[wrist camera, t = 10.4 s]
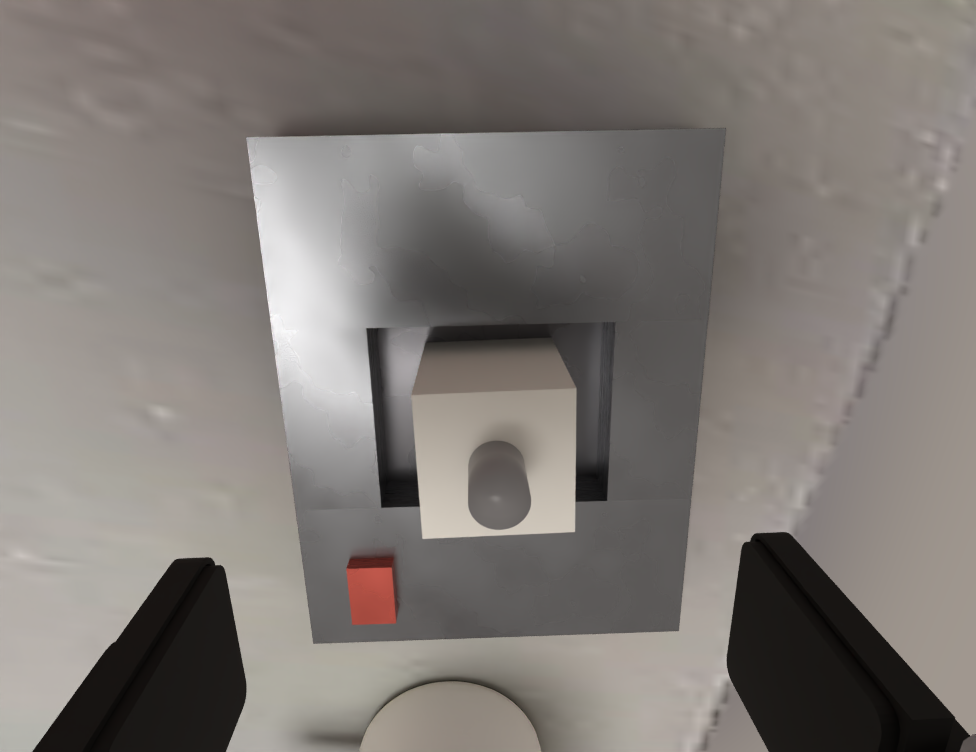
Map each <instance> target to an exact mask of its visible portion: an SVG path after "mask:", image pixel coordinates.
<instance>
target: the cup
mask: <svg viewBox="0 0 976 752" xmlns="http://www.w3.org/2000/svg"><path fill="white" fill-rule="evenodd" d="M359 752H541V748H540V744H539V741H538V737H537V734H536V732H535V729H534V728H533V726H532V724H531V722H530V721H529V719H528V718H527V716H526V715H525V714H524V712H523V711H522V710H521V709H520V708H519V707H518V706H517V705H515V704H514V703H513V702H512V701H511V700H510V699H508V698H507V697H505V696H504V695H502V694H500V693H499V692H497V691H494V690H492V689H490V688H487V687H484V686H481V685H477V684H473V683H468V682H459V681H445V682H436V683H430V684H425V685H422V686H419V687H416V688H413V689H411V690H408V691H406V692H404V693H402V694H401V695H399V696H397V697H396V698H394V699H393V700H392V701H390V702H389V703H388V704H387V705H386V706H384V707H383V708H382V709H381V710H380V711H379V713H378V714H377V715H376V716H375V717H374V719H373V720H372V722H371V723H370V725H369V726H368V728H367V730H366V732H365V735H364V737H363V740H362V743H361V746H360V750H359Z"/></svg>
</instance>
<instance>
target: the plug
mask: <svg viewBox="0 0 976 752" xmlns="http://www.w3.org/2000/svg"><path fill="white" fill-rule="evenodd" d="M576 389H577V388H576V386H575V384H574V382H573V380H572V378H571V376H570V374H569V372H568V370H567V368H566V366H565V364H564V362H563V360H562V358H561V356H560V354H559V352H558V350H557V348H556V346H555V344H554V342H553V340H552V338H527V339H502V340H477V341H453V342H428V343H425V346H424V350H423V353H422V357H421V361H420V364H419V368H418V372H417V375H416V379H415V383H414V387H413V390H412V394H411V400H412V412H413V425H414V438H415V451H416V463H417V476H418V489H419V501H420V514H421V527H422V539H432V538H455V537H477V536H499V535H521V534H544V533H566V532H575V484H576Z"/></svg>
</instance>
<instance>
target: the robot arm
mask: <svg viewBox="0 0 976 752" xmlns="http://www.w3.org/2000/svg"><path fill="white" fill-rule="evenodd" d="M727 668H728V673H729V676H730V679H731V681H732V683H733V685H734V687H735V689H736V691H737V692H738V694H739V696H740V698H741V700H742V702H743V704H744V706H745V707H746V709H747V711H748V713H749V715H750V717H751V719H752V720H753V723H754V725H755V726H756V728H757V730H758V732H759V734H760V736H761V738H762V740H763V741H764V743H765V745H766V747H767V749H768V751H769V752H976V734H973V735H972V736H970V735H969V734H968V733H967V732H966V731H965V730H964V728H963V727H962V726H961V725H960V724H959V723H958V722H957V721H956V720H955V717H954V716H953V715H952V714H951V712H950V711H949V710H948V709H947V708H946V707H945V706H944V705H943V704H942V702H941V701H940V700H939V699H938V698H937V697H936V696H935V695H934V693H933V692H932V691H931V690H930V689H929V688H928V687H927V686H926V685H925V683H924V682H923V681H922V680H921V679H920V678H919V677H918V676H917V675H916V673H915V672H914V671H913V670H912V669H911V668H910V667H909V666H908V665H907V663H906V662H905V661H904V660H903V659H902V658H901V657H900V656H899V654H898V653H897V652H896V651H895V650H894V649H893V648H892V647H891V646H890V644H889V643H888V642H887V641H886V640H885V639H884V638H883V637H882V636H881V634H880V633H879V632H878V631H877V630H876V629H875V628H874V627H873V626H872V624H871V623H870V622H869V621H868V620H867V619H866V618H865V617H864V615H863V614H862V613H861V612H860V611H859V610H858V609H857V608H856V607H855V606H854V604H853V603H852V602H851V601H850V600H849V599H848V598H847V597H846V595H845V594H844V593H843V592H842V591H841V590H840V589H839V588H838V587H837V585H835V583H834V582H833V581H832V580H831V579H830V578H829V577H828V575H827V574H826V573H825V572H824V571H823V570H822V569H821V568H820V567H819V566H818V564H817V563H816V562H815V561H814V560H813V559H812V558H811V557H810V556H809V554H808V553H807V552H806V551H805V550H804V549H803V548H802V547H801V545H800V544H799V543H798V542H797V541H796V540H795V539H794V538H793V536H791V535H790V534H789V533H786V532H777V533H756V534H754V535H753V536H752V538H751V540H750V542H745V543H744V544H743V546H742V550H741V557H740V564H739V571H738V579H737V586H736V593H735V601H734V608H733V615H732V623H731V630H730V637H729V645H728V652H727ZM245 699H246V679H245V673H244V668H243V663H242V658H241V652H240V647H239V642H238V636H237V631H236V626H235V621H234V615H233V610H232V605H231V599H230V594H229V589H228V584H227V578H226V573H225V569H224V568H223V566H221V565H216V566H215V563H214V561H213V559H212V558H209V557H206V558H183V559H176V560H175V561H174V562H173V563H172V564H171V565H170V566H169V568H168V569H167V571H166V572H165V573H164V575H163V576H162V578H161V579H160V580H159V582H158V583H157V585H156V586H155V587H154V589H153V590H152V592H151V593H150V594H149V596H148V597H147V599H146V600H145V601H144V603H143V604H142V606H141V607H140V608H139V610H138V611H137V613H136V614H135V615H134V617H133V618H132V620H131V621H130V622H129V624H128V625H127V627H126V628H125V629H124V631H123V632H122V634H121V635H120V636H119V638H118V639H117V641H116V642H114V643H112V644H111V645H110V646H109V647H108V649H107V650H106V651H105V652H104V653H103V655H102V656H101V658H100V659H99V660H98V662H97V663H96V664H95V666H94V667H93V669H92V670H91V671H90V673H89V674H88V676H87V677H86V678H85V680H84V681H83V682H82V684H81V685H80V687H79V688H78V689H77V691H76V692H75V694H74V695H73V696H72V698H71V699H70V700H69V702H68V703H67V705H66V706H65V707H64V709H63V710H62V711H61V713H60V714H59V716H58V717H57V718H56V720H55V721H54V723H53V724H52V725H51V727H50V728H49V729H48V731H47V732H46V734H45V735H44V736H43V738H42V739H41V741H40V742H39V743H38V745H37V746H36V747H35V749H34V750H33V752H226V750H227V747H228V745H229V742H230V740H231V737H232V735H233V732H234V729H235V727H236V724H237V722H238V719H239V717H240V714H241V712H242V709H243V706H244V703H245Z"/></svg>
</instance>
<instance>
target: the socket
mask: <svg viewBox="0 0 976 752" xmlns="http://www.w3.org/2000/svg"><path fill="white" fill-rule="evenodd" d="M725 134H726V128H702V129H650V130H598V131H546V132H495V133H443V134H391V135H339V136H287V137H246V140H247V147H248V155H249V162H250V170H251V177H252V185H253V192H254V200H255V207H256V215H257V223H258V230H259V238H260V245H261V253H262V260H263V268H264V275H265V283H266V290H267V298H268V305H269V313H270V321H271V328H272V336H273V343H274V351H275V358H276V366H277V373H278V381H279V388H280V396H281V403H282V411H283V418H284V426H285V434H286V441H287V449H288V456H289V464H290V471H291V479H292V486H293V494H294V501H295V509H296V516H297V524H298V531H299V539H300V547H301V554H302V562H303V569H304V577H305V584H306V592H307V599H308V607H309V614H310V622H311V629H312V637H313V644H318V643H347V642H375V641H404V640H433V639H462V638H491V637H520V636H549V635H577V634H606V633H635V632H664V631H679V623H680V613H681V602H682V591H683V581H684V570H685V559H686V549H687V538H688V527H689V517H690V506H691V496H692V485H693V474H694V464H695V453H696V442H697V432H698V421H699V410H700V400H701V389H702V379H703V368H704V357H705V347H706V336H707V325H708V315H709V304H710V293H711V283H712V272H713V262H714V251H715V240H716V230H717V219H718V208H719V198H720V187H721V176H722V166H723V155H724V145H725ZM527 338H552V340H553V342H554V344H555V346H556V348H557V350H558V352H559V354H560V356H561V358H562V360H563V362H564V364H565V366H566V368H567V370H568V372H569V374H570V376H571V378H572V380H573V382H574V384H575V386H576V388H577V389H576V484H575V532H566V533H544V534H521V535H499V536H477V537H455V538H432V539H422V527H421V514H420V501H419V489H418V476H417V463H416V451H415V438H414V425H413V412H412V400H411V394H412V390H413V387H414V383H415V379H416V375H417V372H418V368H419V364H420V361H421V357H422V353H423V350H424V346H425V343H428V342H453V341H477V340H502V339H527Z"/></svg>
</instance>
